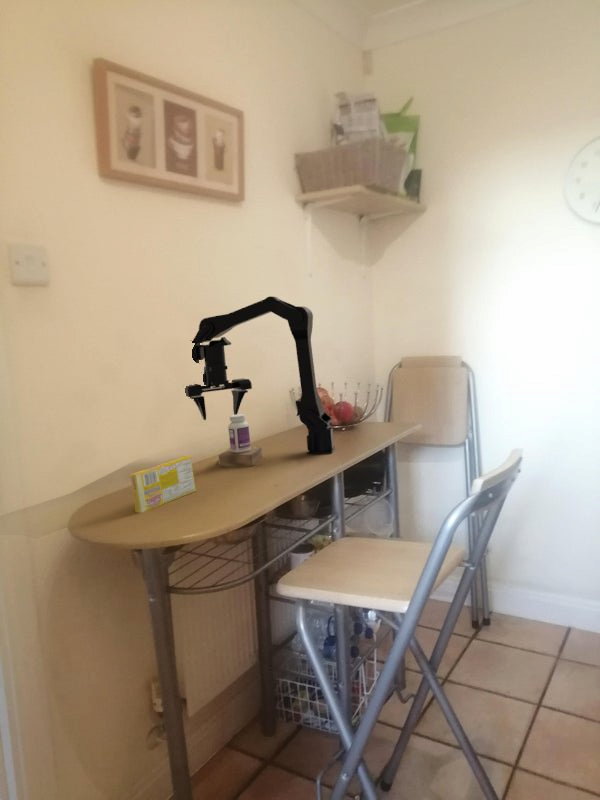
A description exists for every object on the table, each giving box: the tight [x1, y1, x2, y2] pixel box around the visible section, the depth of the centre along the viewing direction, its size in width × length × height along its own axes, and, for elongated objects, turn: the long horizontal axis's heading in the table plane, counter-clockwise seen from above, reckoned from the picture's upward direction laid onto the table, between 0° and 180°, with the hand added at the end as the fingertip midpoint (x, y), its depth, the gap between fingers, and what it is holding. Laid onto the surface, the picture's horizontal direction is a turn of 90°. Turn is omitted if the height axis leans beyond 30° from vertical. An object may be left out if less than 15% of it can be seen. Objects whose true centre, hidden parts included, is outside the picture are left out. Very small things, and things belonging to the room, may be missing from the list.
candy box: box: [129, 455, 197, 514], centre depth 132 cm, size 16×2×8 cm, turn 146°
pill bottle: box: [227, 413, 252, 453], centre depth 163 cm, size 5×5×10 cm
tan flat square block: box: [218, 446, 263, 468], centre depth 164 cm, size 9×9×3 cm
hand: (220, 417), depth 174 cm, fingers open, 9 cm apart
